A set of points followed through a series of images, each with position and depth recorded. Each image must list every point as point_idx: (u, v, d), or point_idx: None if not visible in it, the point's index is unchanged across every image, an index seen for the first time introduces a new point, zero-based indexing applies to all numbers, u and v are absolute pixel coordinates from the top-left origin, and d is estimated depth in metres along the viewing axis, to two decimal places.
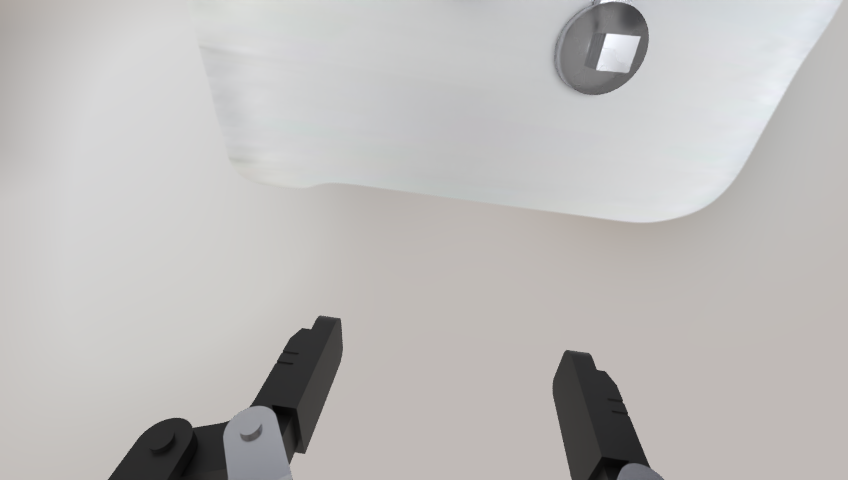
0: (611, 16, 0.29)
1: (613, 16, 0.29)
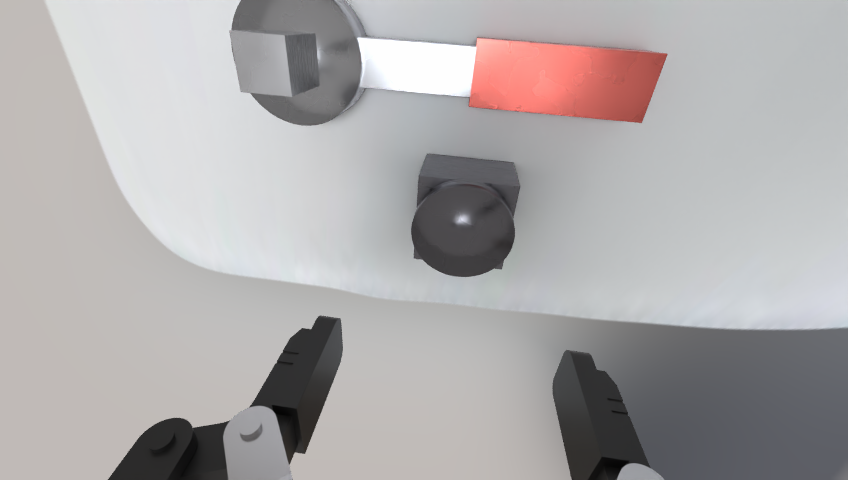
0: (340, 58, 0.19)
1: (340, 62, 0.19)
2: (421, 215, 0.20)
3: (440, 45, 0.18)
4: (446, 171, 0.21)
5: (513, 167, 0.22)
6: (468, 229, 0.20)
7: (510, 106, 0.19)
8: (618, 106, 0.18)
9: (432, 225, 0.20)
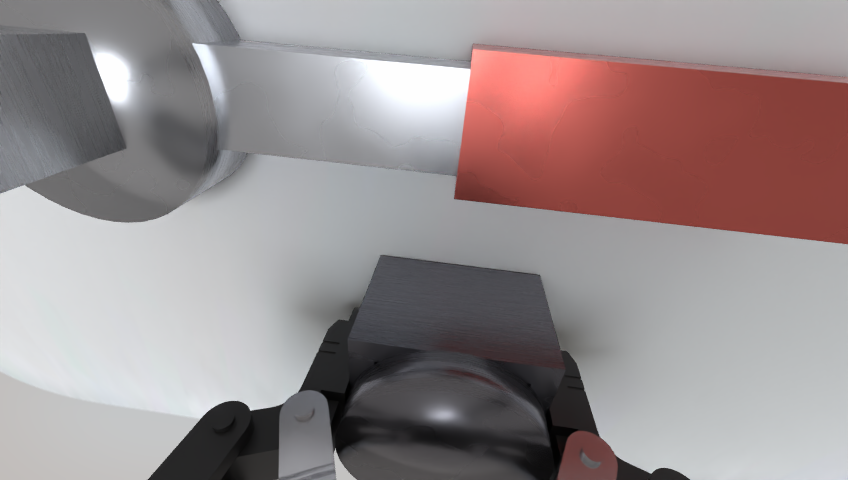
0: (155, 92, 0.08)
1: (158, 99, 0.08)
2: (352, 427, 0.09)
3: (385, 64, 0.08)
4: (409, 317, 0.10)
5: (541, 292, 0.12)
6: (454, 454, 0.09)
7: (547, 201, 0.08)
8: (802, 209, 0.08)
9: (378, 442, 0.09)
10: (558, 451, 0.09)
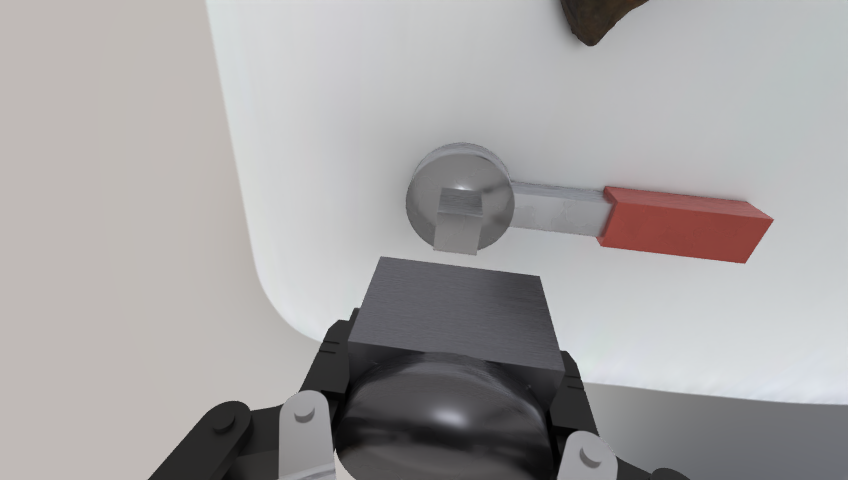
0: (498, 209, 0.23)
1: (497, 211, 0.23)
2: (352, 428, 0.09)
3: (583, 201, 0.23)
4: (409, 318, 0.10)
5: (541, 293, 0.12)
6: (454, 455, 0.09)
7: (636, 247, 0.23)
8: (727, 251, 0.23)
9: (378, 443, 0.09)
10: (558, 451, 0.09)
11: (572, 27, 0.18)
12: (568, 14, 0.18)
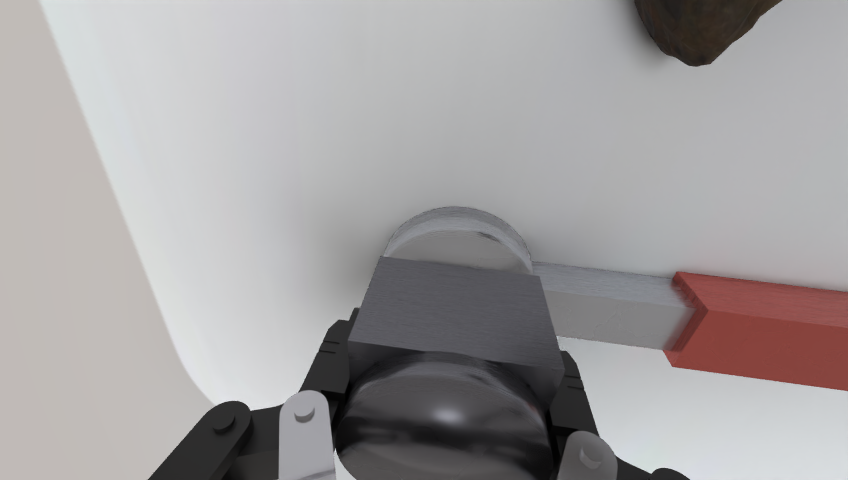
0: None
1: None
2: (352, 427, 0.09)
3: (648, 303, 0.14)
4: (409, 318, 0.10)
5: (541, 293, 0.12)
6: (454, 455, 0.09)
7: (728, 370, 0.15)
8: None
9: (378, 443, 0.09)
10: (558, 451, 0.09)
11: (658, 32, 0.10)
12: (654, 8, 0.10)
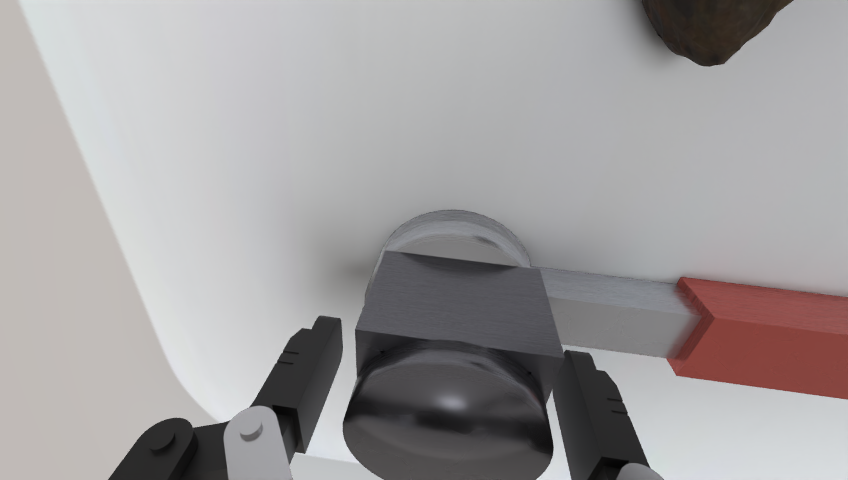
0: None
1: None
2: (360, 413, 0.10)
3: (652, 311, 0.14)
4: (414, 308, 0.11)
5: (541, 285, 0.12)
6: (458, 439, 0.10)
7: (734, 380, 0.14)
8: None
9: (384, 428, 0.10)
10: None
11: (667, 31, 0.10)
12: (663, 6, 0.09)
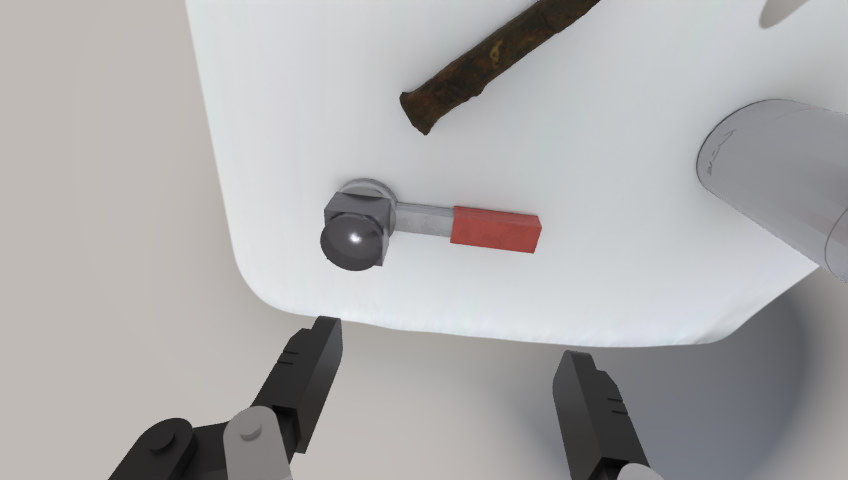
0: None
1: None
2: (325, 233, 0.33)
3: (436, 216, 0.37)
4: (343, 206, 0.34)
5: (388, 202, 0.35)
6: (354, 242, 0.33)
7: (470, 243, 0.38)
8: (522, 246, 0.38)
9: (332, 239, 0.33)
10: None
11: None
12: None
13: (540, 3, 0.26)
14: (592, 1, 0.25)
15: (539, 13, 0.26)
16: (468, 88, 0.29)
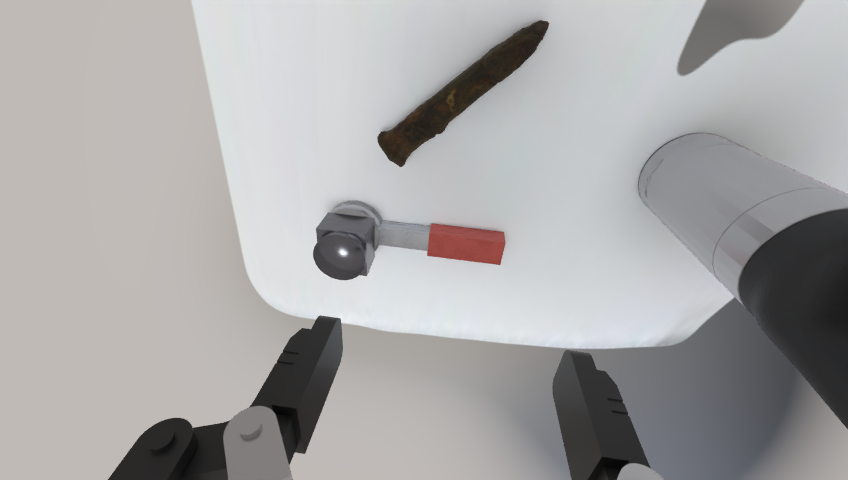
0: None
1: None
2: (317, 249, 0.39)
3: (414, 232, 0.43)
4: (332, 225, 0.40)
5: (372, 221, 0.41)
6: (341, 256, 0.39)
7: (444, 256, 0.44)
8: (489, 258, 0.43)
9: (323, 253, 0.39)
10: None
11: None
12: None
13: (483, 59, 0.32)
14: (523, 57, 0.31)
15: (483, 67, 0.32)
16: (432, 128, 0.35)
